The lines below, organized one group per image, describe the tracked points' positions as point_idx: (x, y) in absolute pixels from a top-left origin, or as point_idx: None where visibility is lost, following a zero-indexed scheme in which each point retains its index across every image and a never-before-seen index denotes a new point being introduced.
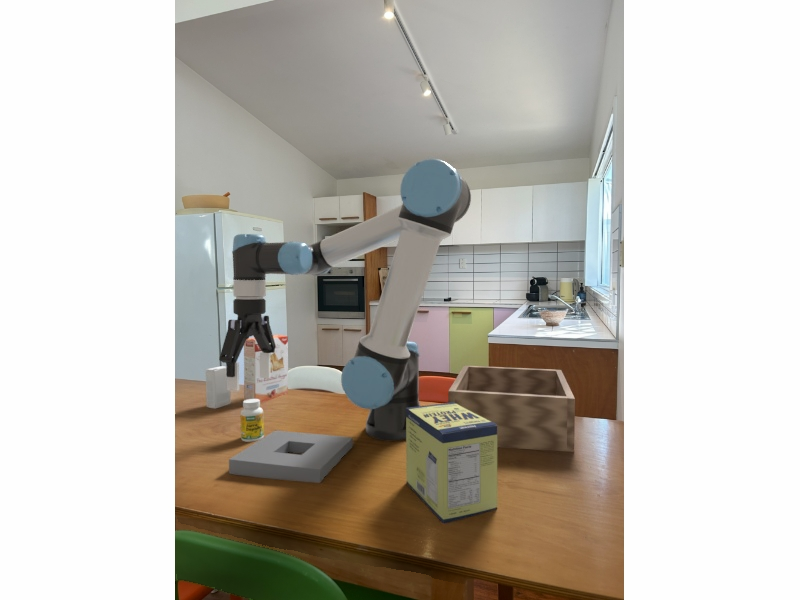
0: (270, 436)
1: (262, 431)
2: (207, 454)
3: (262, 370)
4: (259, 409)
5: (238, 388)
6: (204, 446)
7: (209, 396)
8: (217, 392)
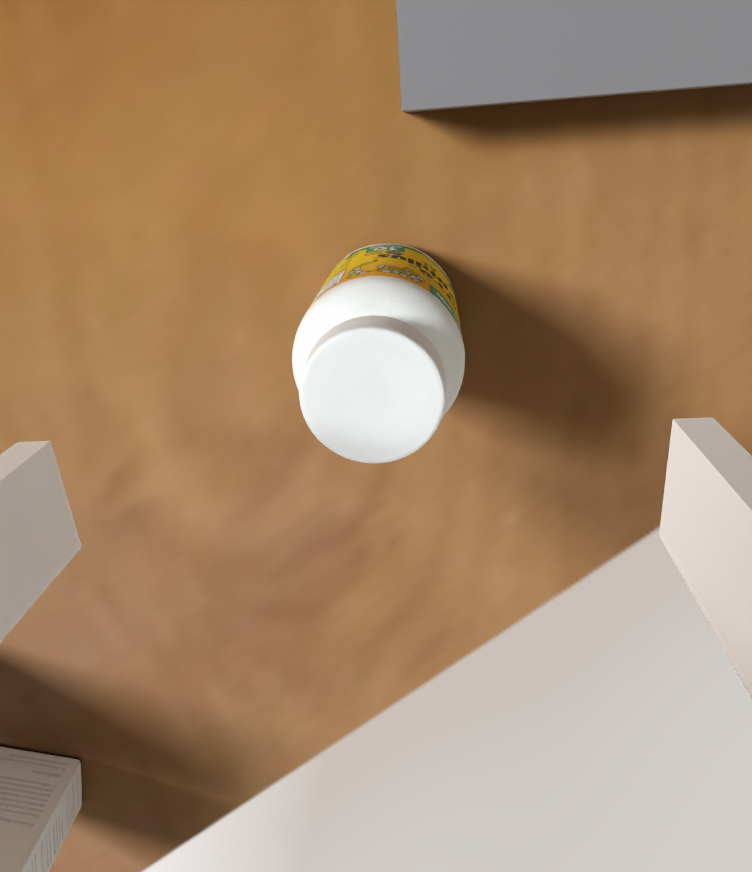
0: (537, 57)
1: (372, 250)
2: (672, 395)
3: (25, 568)
4: (369, 302)
5: (696, 428)
6: (567, 483)
7: (53, 843)
8: (22, 834)
